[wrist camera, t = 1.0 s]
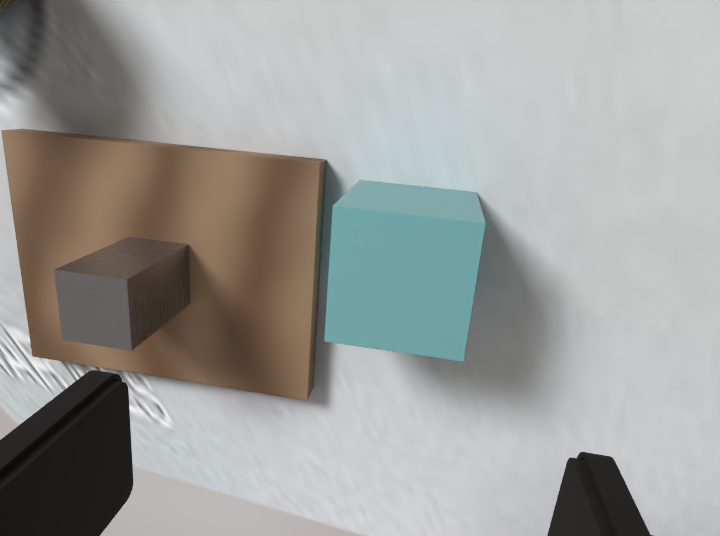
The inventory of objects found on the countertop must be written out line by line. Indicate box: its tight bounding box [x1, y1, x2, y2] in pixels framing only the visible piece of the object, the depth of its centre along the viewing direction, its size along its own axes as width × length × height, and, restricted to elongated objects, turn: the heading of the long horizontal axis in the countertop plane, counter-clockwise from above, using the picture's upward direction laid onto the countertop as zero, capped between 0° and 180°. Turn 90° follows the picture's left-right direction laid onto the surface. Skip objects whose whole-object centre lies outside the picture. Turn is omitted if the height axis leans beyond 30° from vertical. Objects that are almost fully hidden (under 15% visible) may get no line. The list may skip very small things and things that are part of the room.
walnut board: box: [2, 129, 326, 400], centre depth 31 cm, size 18×14×2 cm
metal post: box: [54, 237, 190, 351], centre depth 27 cm, size 4×4×6 cm
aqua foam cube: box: [324, 180, 486, 361], centre depth 25 cm, size 6×6×7 cm
